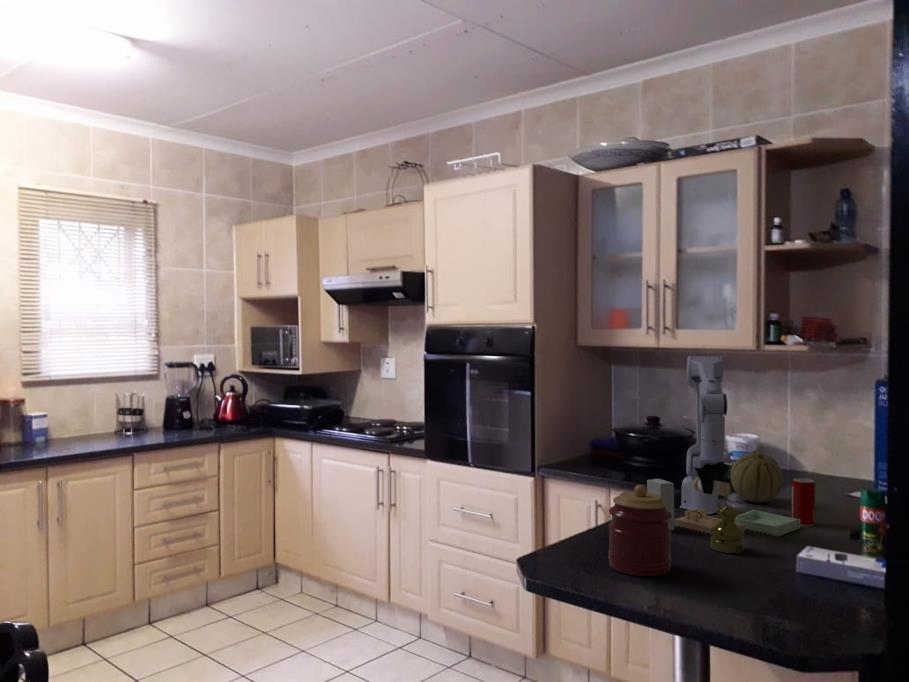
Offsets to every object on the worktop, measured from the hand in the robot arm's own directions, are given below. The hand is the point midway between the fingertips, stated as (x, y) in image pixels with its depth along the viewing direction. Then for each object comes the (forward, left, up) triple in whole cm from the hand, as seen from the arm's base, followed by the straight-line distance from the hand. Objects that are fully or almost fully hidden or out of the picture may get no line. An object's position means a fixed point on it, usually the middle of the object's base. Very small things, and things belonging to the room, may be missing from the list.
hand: (711, 492), depth 179 cm
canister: (+7, -40, -9) cm, 42 cm away
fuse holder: (0, 0, -9) cm, 9 cm away
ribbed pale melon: (-7, +38, -9) cm, 39 cm away
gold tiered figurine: (+12, -13, -9) cm, 20 cm away
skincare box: (-8, -10, -9) cm, 16 cm away
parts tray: (+8, +13, -9) cm, 17 cm away
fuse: (0, 0, 0) cm, 0 cm away
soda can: (+13, +24, -9) cm, 28 cm away
